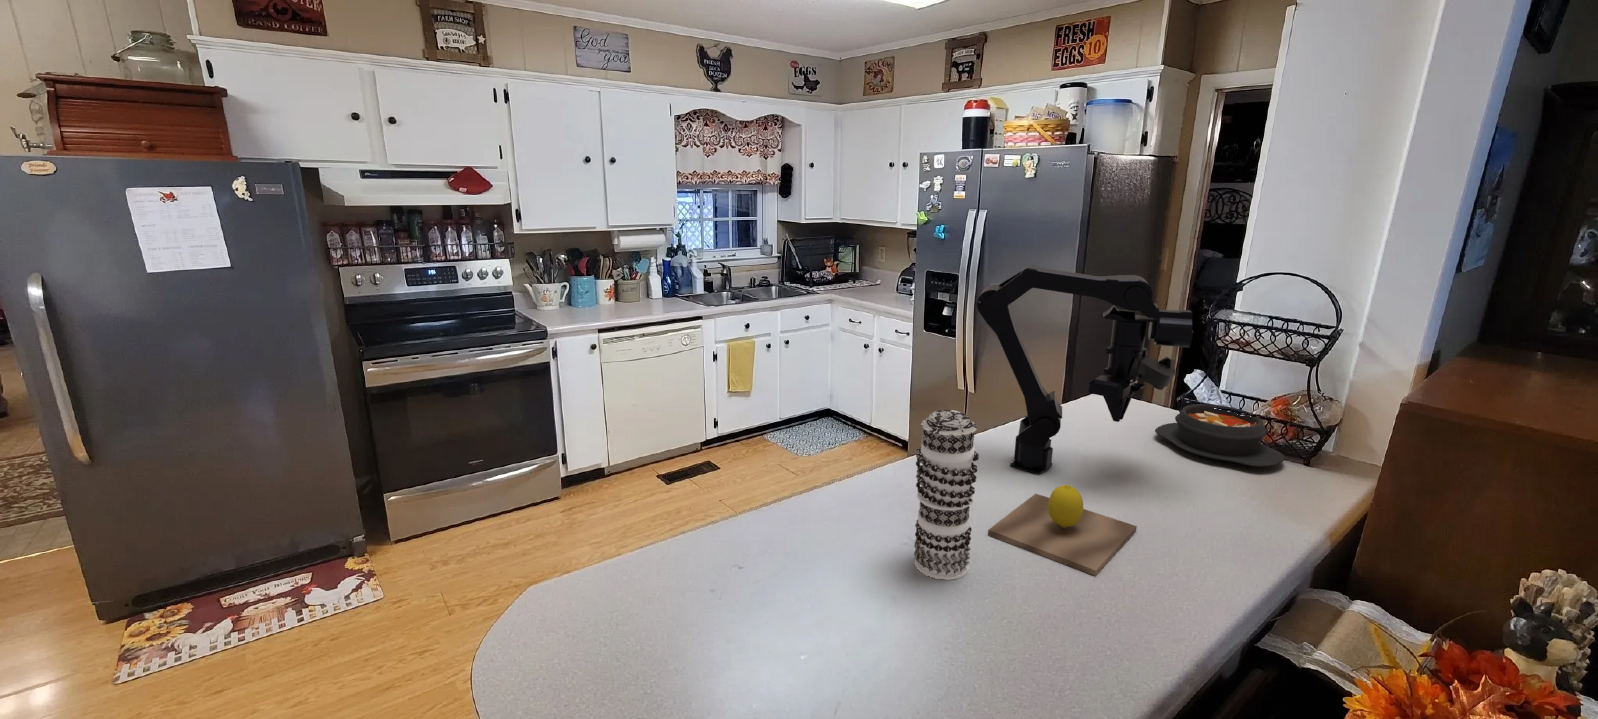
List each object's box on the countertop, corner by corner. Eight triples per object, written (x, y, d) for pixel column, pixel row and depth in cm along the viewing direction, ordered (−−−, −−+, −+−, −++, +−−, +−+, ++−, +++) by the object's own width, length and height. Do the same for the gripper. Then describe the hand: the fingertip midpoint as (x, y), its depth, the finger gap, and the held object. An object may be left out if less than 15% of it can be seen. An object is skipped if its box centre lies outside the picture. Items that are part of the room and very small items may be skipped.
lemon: (1075, 520, 119) (1080, 478, 117) (1084, 537, 114) (1089, 493, 111) (1042, 518, 120) (1046, 476, 117) (1050, 535, 114) (1054, 491, 112)
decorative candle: (933, 542, 114) (940, 400, 108) (982, 564, 108) (993, 414, 101) (899, 564, 108) (904, 415, 101) (949, 588, 102) (958, 431, 95)
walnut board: (987, 534, 117) (988, 529, 116) (1035, 498, 129) (1035, 493, 129) (1095, 576, 105) (1096, 570, 104) (1136, 531, 117) (1136, 525, 117)
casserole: (1300, 461, 144) (1308, 424, 141) (1253, 483, 134) (1261, 443, 132) (1183, 425, 164) (1188, 391, 162) (1135, 441, 155) (1140, 406, 153)
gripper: (1157, 360, 118) (1145, 445, 123) (1188, 340, 131) (1177, 417, 136) (1091, 349, 126) (1083, 429, 130) (1127, 331, 139) (1118, 404, 143)
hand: (1117, 420), depth 134 cm, fingers closed
